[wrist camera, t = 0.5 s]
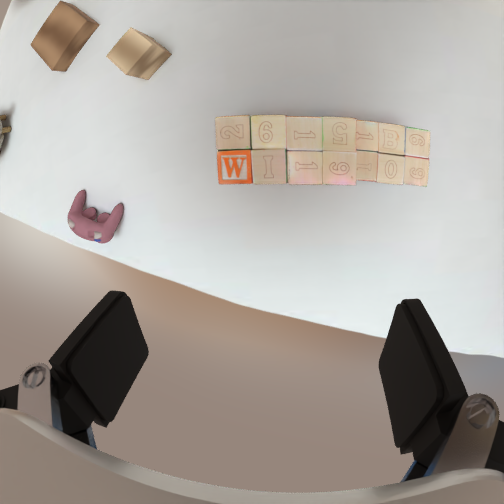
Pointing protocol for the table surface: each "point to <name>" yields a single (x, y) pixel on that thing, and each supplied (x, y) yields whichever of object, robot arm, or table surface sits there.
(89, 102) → the table surface
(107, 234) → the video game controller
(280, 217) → the table surface
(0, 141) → the toy sheep
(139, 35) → the oak block
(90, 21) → the base block
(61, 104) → the table surface
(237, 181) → the stack of blocks
